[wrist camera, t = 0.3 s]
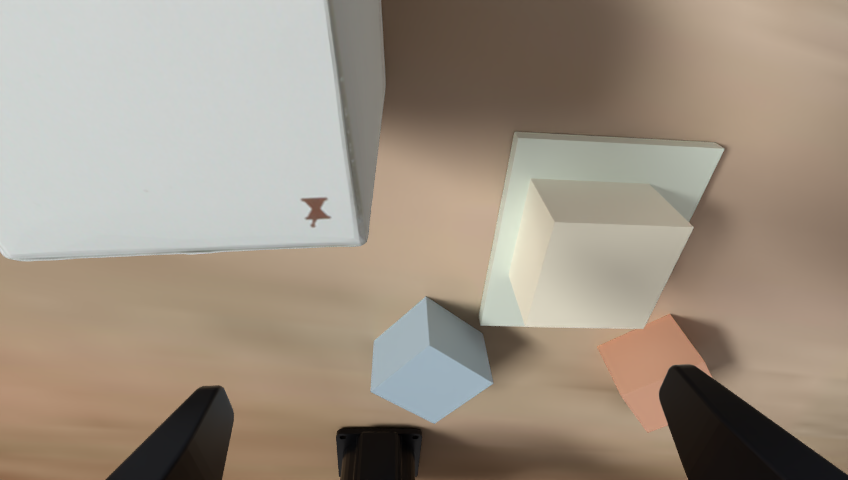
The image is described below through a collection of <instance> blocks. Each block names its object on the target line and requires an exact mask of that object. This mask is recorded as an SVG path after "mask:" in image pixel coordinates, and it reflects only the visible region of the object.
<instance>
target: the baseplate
mask: <svg viewBox="0 0 848 480" xmlns="http://www.w3.org/2000/svg"><path fill="white" fill-rule="evenodd" d="M723 151H724V148H723V147H721V146H720V145H718V144H717V143H715V142H700V141H681V140H663V139H644V138H625V137H607V136H588V135H569V134H550V133H532V132H514V137H513V142H512V147H511V152H510V157H509V163H508V168H507V173H506V178H505V183H504V188H503V194H502V199H501V204H500V209H499V214H498V219H497V225H496V230H495V235H494V240H493V245H492V250H491V255H490V261H489V266H488V271H487V276H486V281H485V286H484V292H483V297H482V302H481V307H480V312H479V320H480V325H481V326H525V325H524V322H523V318H522V315H521V312H520V309H519V306H518V303H517V300H516V297H515V294H514V291H513V288H512V285H511V281H510V278H509V270H510V266H511V262H512V257H513V253H514V249H515V244H516V240H517V235H518V231H519V227H520V222H521V218H522V214H523V209H524V205H525V201H526V196H527V192H528V188H529V183H530V179H531V178H533V179H555V180H577V181H599V182H622V183H644V184H650V185H651V186H652V187H653V188H654V189H655V190H656V191H657V192H658V193H659V194H660V195H661V196H662V197H663V198H664V199H665V200H666V201H667V202H668V203H669V204H670V205H671V206H672V207H673V208H675V209H676V210H677V211H678V212H679V213H680V214H681V215H682V216H683V217H684V218H685V219H686V220H687V221H688V222H689V221H690V219H691V217H692V215H693V213H694V211H695V209H696V207H697V205H698V203H699V201H700V199H701V197H702V194H703V192H704V190H705V188H706V186H707V184H708V182H709V180H710V178H711V176H712V174H713V172H714V170H715V168H716V166H717V164H718V161H719V159H720V157H721V155H722V153H723Z"/></svg>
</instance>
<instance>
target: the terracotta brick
mask: <svg viewBox="0 0 848 480" xmlns="http://www.w3.org/2000/svg"><path fill="white" fill-rule="evenodd" d="M597 348H598V350H599V352H600V354H601V356H602V358H603V360H604V362H605V364H606V366H607V368H608V370H609V372H610V374H611V376H612V378H613V380H614V382H615V384H616V387H617V389H618V391H619V393H620V395H621V396H622V398H623V399H624V401H625V402H626V403H627V405H628V406H629V408H630V409H631V410H632V412H633V413H634V415H635V416H636V417H637V419H638V420H639V422H640V423H641V424H642V426H643V427H644V429H645V430H646V431H647V433H649V432H651V431H654V430H657V429H659V428H662V427H665V426H667V425H668V423H667V420H666V417H665V415H664V412H663V409H662V406H661V403H660V400H659V390H660V387H661V385H662V383H663V380H664V378H665V376H666V374H667V371H668V369H669V368H670V367H671V366H672V365H682V364H691V365H694V366H696V367H698V368H699V369H700V370H702V371H703V372H705V373H706V374H707V375H709V376H710V377H712V376H711V374H710V372H709V370H708V368H707V366H706V364H705V362H704V360H703V359H702V357H701V356H700V355H699V353H698V352H697V351H696V349H695V348H694V346H693V345H692V344H691V342H690V341H689V339H688V338H687V337H686V335H685V334H684V333H683V331H682V330H681V328H680V327H679V326H678V324H677V323H676V322H675V320H674V319H673V317H672V316H671V315H670V314H668V315H666V316H664V317H662V318H659V319H657V320H655V321H653V322H651V323H648V324H646V325H645V327H644V329H635V330H633V331H631V332H628V333H626V334H624V335H622V336H619V337H617V338H615V339H613V340H610V341H608V342H606V343H604V344H602V345H599V346H597Z"/></svg>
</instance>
